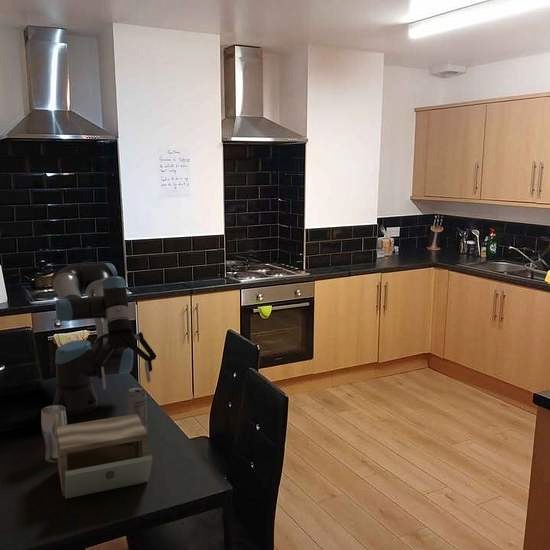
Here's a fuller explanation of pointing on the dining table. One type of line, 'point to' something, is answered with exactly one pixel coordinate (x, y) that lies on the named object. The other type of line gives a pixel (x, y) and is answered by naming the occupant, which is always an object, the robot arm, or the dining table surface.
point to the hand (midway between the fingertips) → (127, 385)
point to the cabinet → (99, 443)
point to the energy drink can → (137, 404)
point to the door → (107, 476)
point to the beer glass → (52, 429)
